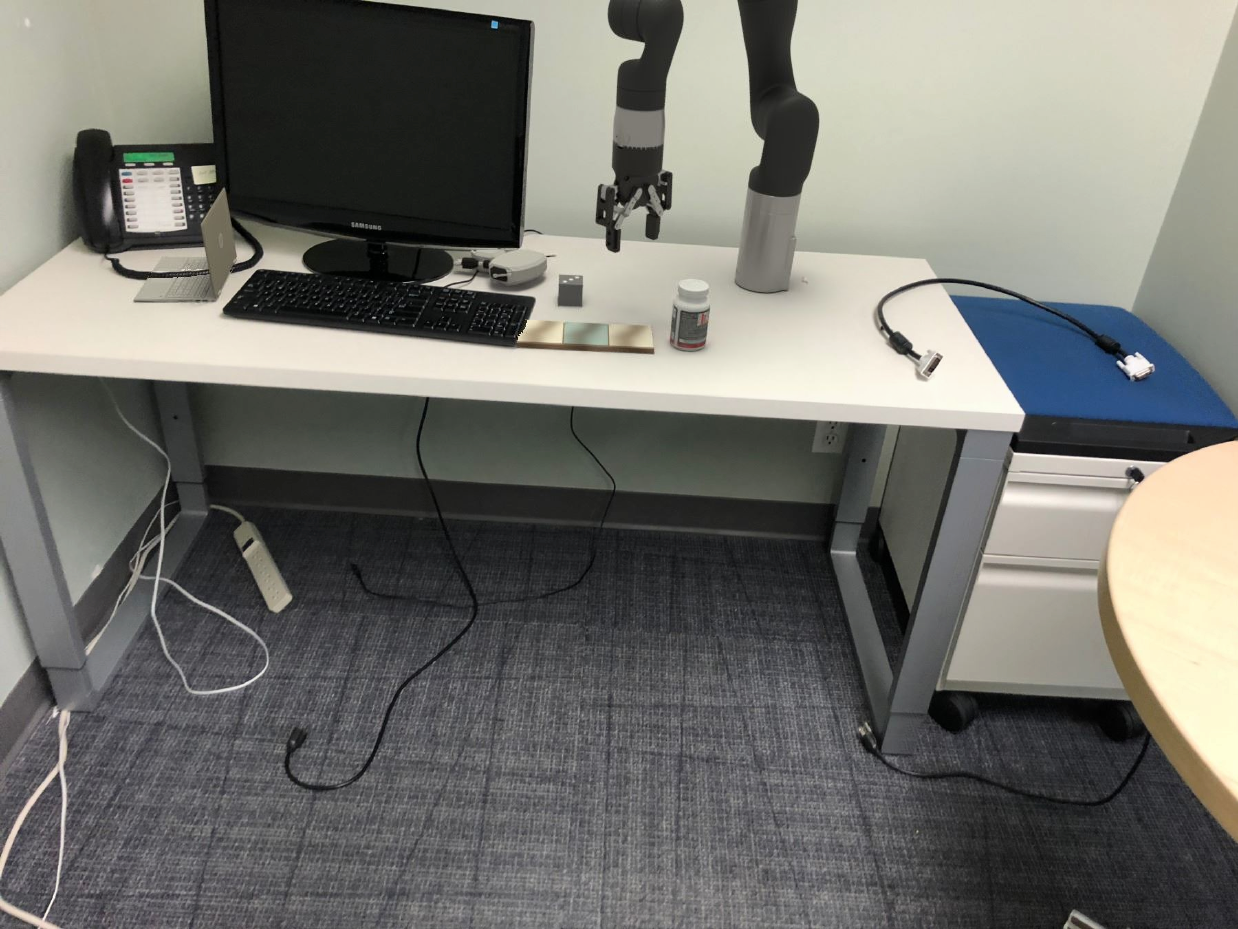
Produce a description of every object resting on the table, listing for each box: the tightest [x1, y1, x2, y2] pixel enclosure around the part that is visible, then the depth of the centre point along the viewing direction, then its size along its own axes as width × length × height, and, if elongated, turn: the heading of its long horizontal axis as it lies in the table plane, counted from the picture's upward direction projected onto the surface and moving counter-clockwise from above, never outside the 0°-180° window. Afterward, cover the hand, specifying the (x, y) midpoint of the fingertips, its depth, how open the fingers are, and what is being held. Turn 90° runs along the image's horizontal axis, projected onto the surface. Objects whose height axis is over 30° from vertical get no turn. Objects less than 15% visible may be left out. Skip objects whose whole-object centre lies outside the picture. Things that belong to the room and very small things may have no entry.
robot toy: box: [453, 248, 558, 287], centre depth 164 cm, size 12×4×15 cm
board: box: [516, 319, 655, 355], centre depth 146 cm, size 21×8×1 cm, turn 92°
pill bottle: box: [669, 278, 711, 352], centre depth 144 cm, size 6×6×10 cm
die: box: [557, 274, 584, 308], centre depth 157 cm, size 4×4×4 cm
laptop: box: [133, 187, 238, 303], centre depth 152 cm, size 18×12×13 cm
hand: (632, 244), depth 145 cm, fingers open, 8 cm apart
